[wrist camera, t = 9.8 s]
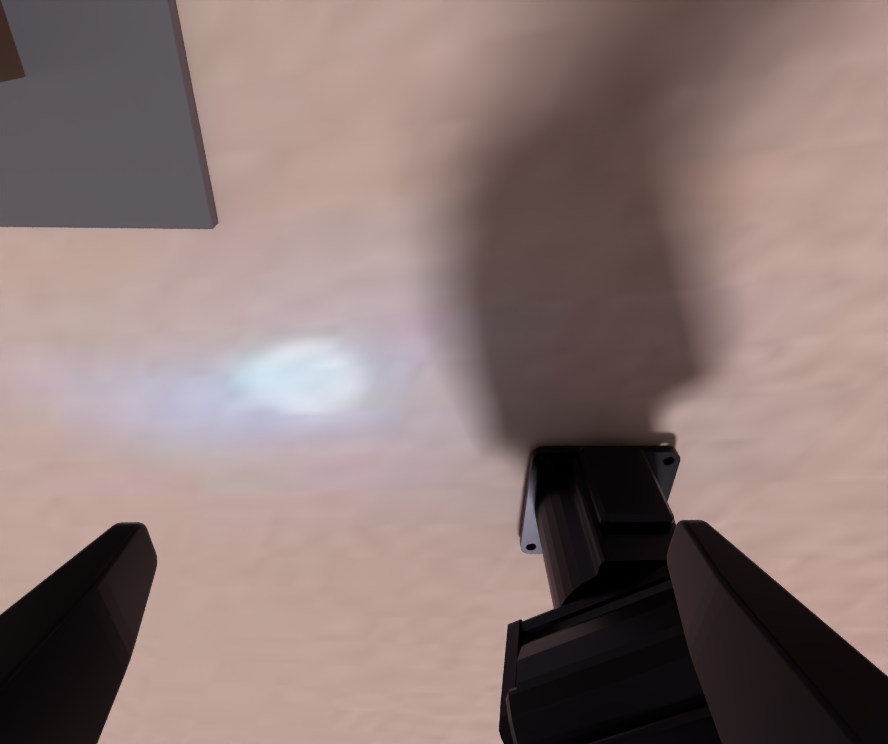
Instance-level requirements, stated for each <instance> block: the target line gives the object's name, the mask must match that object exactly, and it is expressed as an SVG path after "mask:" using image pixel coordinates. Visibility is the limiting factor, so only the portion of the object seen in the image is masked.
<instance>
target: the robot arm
mask: <svg viewBox="0 0 888 744" xmlns="http://www.w3.org/2000/svg"><path fill="white" fill-rule="evenodd" d="M541 457H547V458H545V459H542V460H541V459H539V458H541ZM666 457H670V458H668V459H665V458H666ZM679 463H680V456H679V455H678V453H677V451H676V449H675V448H673V447H669V446H542V447H538V448H536V449H534V450H533V451H532V453H531V458H530V466H529V473H528V481H527V489H526V496H525V504H524V512H523V519H522V527H521V535H520V545H521V550H522V551H523V552H524V553H527V554H543V557H544V562H545V567H546V572H547V577H548V582H549V587H550V592H551V597H552V602H553V606H554V609H552V610H550V611H547V612H545V613H542V614H540V615H537V616H535V617H532V618H530V619H527V620H525V621H522V620H518V621H515V622H513V623H510V624H508V629H507V640H506V651H505V662H504V673H503V683H502V694H501V705H500V721H499V732H500V736H501V739H502V741H503V743H504V744H888V676H887V675H886V674H884V673H883V672H882V671H881V670H880V669H879V668H877V667H876V666H875V665H874V664H873V663H871V662H870V661H869V660H868V659H867V658H866V657H864V656H863V655H862V654H861V653H860V652H859V651H857V650H856V649H855V648H854V647H853V646H851V645H850V644H849V643H848V642H847V641H846V640H844V639H843V638H842V637H841V636H840V635H839V634H837V633H836V632H835V631H834V630H833V629H831V628H830V627H829V626H828V625H827V624H826V623H824V622H823V621H822V620H821V619H820V618H819V617H817V616H816V615H815V614H814V613H813V612H812V611H810V610H809V609H808V608H807V607H806V606H804V605H803V604H802V603H801V602H800V601H799V600H797V599H796V598H795V597H794V596H793V595H792V594H790V593H789V592H788V591H787V590H786V589H784V588H783V587H782V586H781V585H780V584H779V583H777V582H776V581H775V580H774V579H773V578H772V577H770V576H769V575H768V574H767V573H766V572H764V571H763V570H762V569H761V568H760V567H759V566H757V565H756V564H755V563H754V562H753V561H752V560H750V559H749V558H748V557H747V556H746V555H744V554H743V553H742V552H741V551H740V550H739V549H737V548H736V547H735V546H734V545H733V544H732V543H730V542H729V541H728V540H727V539H726V538H724V537H723V536H722V535H721V534H720V533H719V532H717V531H716V530H715V529H714V528H713V527H712V526H710V525H709V524H708V523H706V522H705V521H702V520H682V521H680V522H678V524H677V525H676V523H675V520H674V515H673V513H672V511H671V509H670V507H669V505H668V503H667V501H668V498H669V495H670V492H671V488H672V485H673V482H674V479H675V476H676V472H677V469H678V466H679ZM531 543H532V544H531ZM156 567H157V555H156V552H155V549H154V546H153V544H152V541H151V538H150V535H149V533H148V530H147V528H146V526H145V525H144V524H143V523H140V522H122V523H117V524H115V525H113V526H112V527H111V528H109V529H108V530H107V531H106V532H104V533H103V534H102V535H101V536H99V537H98V538H97V539H95V540H94V541H93V542H92V543H90V544H89V545H88V546H87V547H85V548H84V549H83V550H82V551H80V552H79V553H78V554H77V555H75V556H74V557H73V558H71V559H70V560H69V561H68V562H66V563H65V564H64V565H63V566H61V567H60V568H59V569H58V570H56V571H55V572H54V573H53V574H51V575H50V576H49V577H47V578H46V579H45V580H44V581H42V582H41V583H40V584H39V585H37V586H36V587H35V588H34V589H32V590H31V591H30V592H29V593H27V594H26V595H25V596H23V597H22V598H21V599H20V600H18V601H17V602H16V603H15V604H13V605H12V606H11V607H10V608H8V609H7V610H6V611H5V612H3V613H2V614H1V615H0V744H97V743H98V740H99V738H100V735H101V733H102V730H103V728H104V725H105V723H106V720H107V718H108V715H109V713H110V710H111V707H112V705H113V702H114V700H115V697H116V695H117V692H118V690H119V687H120V685H121V682H122V680H123V677H124V675H125V672H126V670H127V667H128V664H129V662H130V659H131V656H132V653H133V649H134V646H135V643H136V639H137V636H138V632H139V629H140V625H141V621H142V618H143V614H144V611H145V607H146V604H147V600H148V596H149V593H150V589H151V586H152V582H153V579H154V575H155V571H156Z"/></svg>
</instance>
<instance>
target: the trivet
mask: <svg viewBox="0 0 888 744" xmlns="http://www.w3.org/2000/svg"><path fill="white" fill-rule="evenodd" d="M1 2H2V5H3V8H4V11H5V14H6V17H7V20H8V23H9V26H10V30H11V33H12V36H13V39H14V42H15V45H16V48H17V51H18V54H19V57H20V60H21V63H22V66H23V69H24V72H25V75H26V77H23V78H18V79H13V80H9V81H4V82H0V227H70V228H163V229H213V228H214V227H215V226H216V225H217V224H218V219H217V214H216V209H215V203H214V198H213V193H212V188H211V183H210V178H209V172H208V167H207V162H206V157H205V152H204V147H203V141H202V136H201V131H200V126H199V121H198V115H197V110H196V105H195V100H194V95H193V90H192V84H191V79H190V74H189V69H188V64H187V59H186V53H185V48H184V43H183V38H182V33H181V28H180V22H179V17H178V12H177V7H176V2H175V0H1Z"/></svg>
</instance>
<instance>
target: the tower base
mask: <svg viewBox="0 0 888 744" xmlns="http://www.w3.org/2000/svg"><path fill="white" fill-rule="evenodd" d="M23 77H26V75H25V72H24V69H23V66H22V63H21V60H20V57H19V54H18V51H17V48H16V45H15V42H14V39H13V36H12V33H11V30H10V26H9V23H8V20H7V17H6V14H5V11H4V8H3V5H2V2H1V0H0V82H4V81H9V80H13V79H18V78H23Z"/></svg>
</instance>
